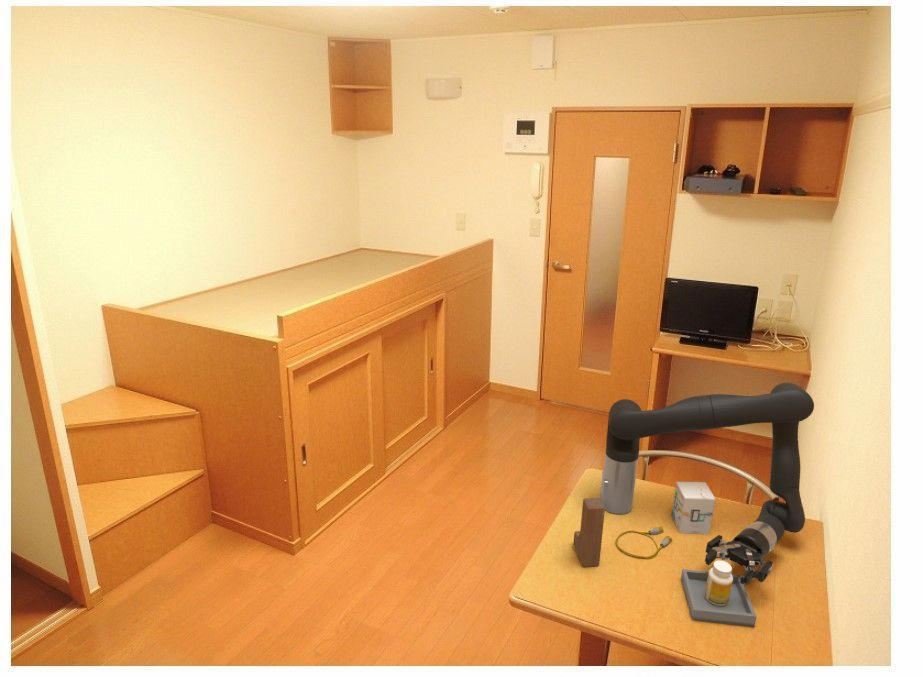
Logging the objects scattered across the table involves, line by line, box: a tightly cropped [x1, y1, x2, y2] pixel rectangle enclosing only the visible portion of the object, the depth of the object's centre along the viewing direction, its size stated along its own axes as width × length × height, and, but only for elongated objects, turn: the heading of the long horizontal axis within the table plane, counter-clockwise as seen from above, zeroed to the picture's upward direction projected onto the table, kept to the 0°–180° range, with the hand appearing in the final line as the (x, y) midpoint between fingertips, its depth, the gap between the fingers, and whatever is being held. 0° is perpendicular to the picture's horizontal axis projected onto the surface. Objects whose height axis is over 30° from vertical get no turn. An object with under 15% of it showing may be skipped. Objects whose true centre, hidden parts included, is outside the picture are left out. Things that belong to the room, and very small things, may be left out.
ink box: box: [671, 480, 716, 535], centre depth 173 cm, size 8×8×12 cm
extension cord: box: [615, 526, 673, 560], centre depth 166 cm, size 12×16×2 cm
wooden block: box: [573, 497, 606, 568], centre depth 159 cm, size 9×4×18 cm, turn 6°
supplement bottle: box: [705, 560, 733, 606], centre depth 145 cm, size 5×5×10 cm
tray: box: [680, 568, 758, 628], centre depth 146 cm, size 14×14×3 cm
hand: (724, 571), depth 145 cm, fingers open, 8 cm apart
